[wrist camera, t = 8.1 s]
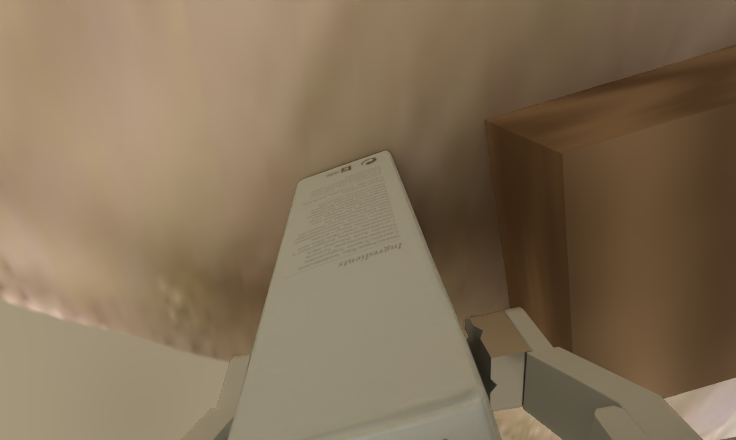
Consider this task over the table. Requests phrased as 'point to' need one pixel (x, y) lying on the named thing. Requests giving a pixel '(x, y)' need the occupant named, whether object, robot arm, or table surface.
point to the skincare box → (359, 324)
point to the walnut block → (627, 221)
